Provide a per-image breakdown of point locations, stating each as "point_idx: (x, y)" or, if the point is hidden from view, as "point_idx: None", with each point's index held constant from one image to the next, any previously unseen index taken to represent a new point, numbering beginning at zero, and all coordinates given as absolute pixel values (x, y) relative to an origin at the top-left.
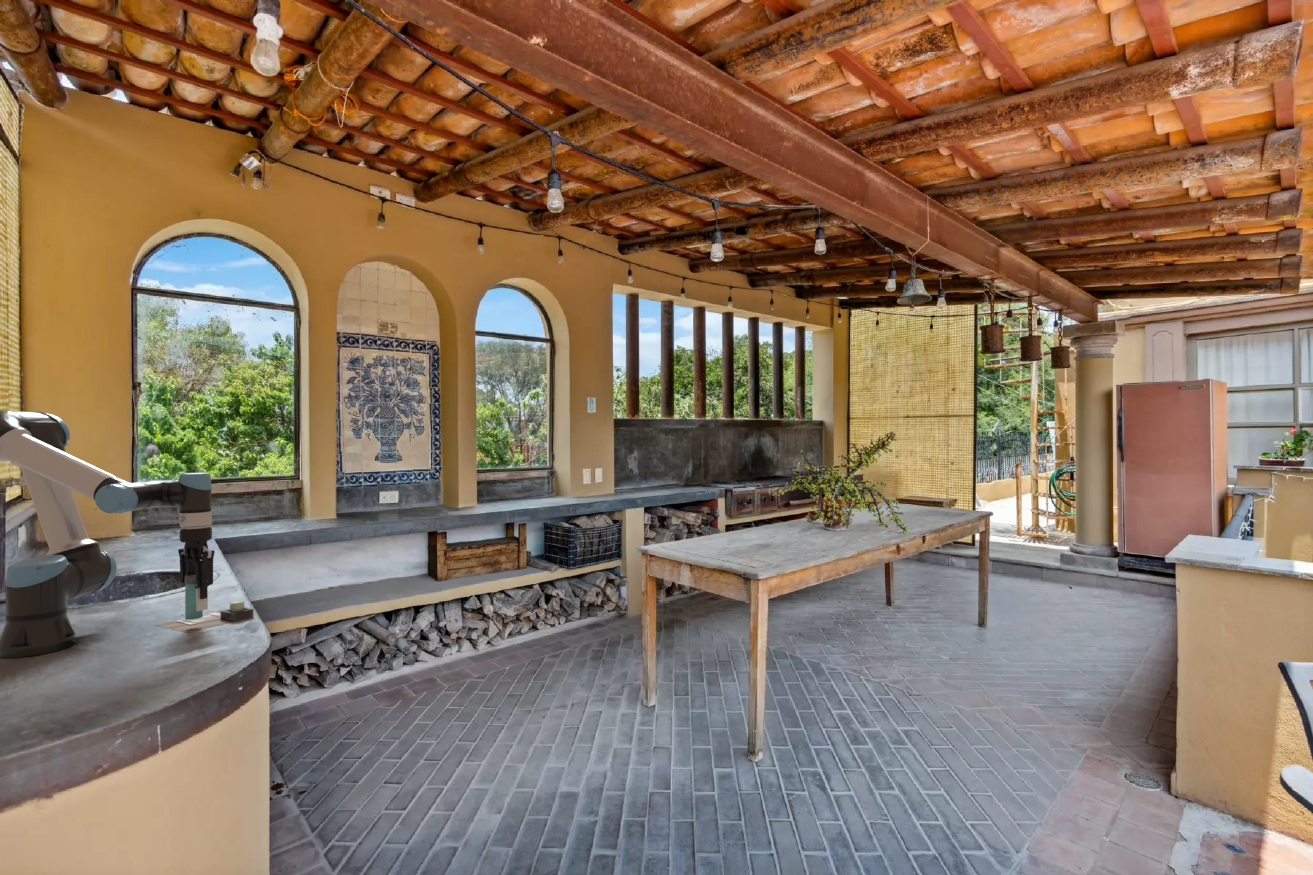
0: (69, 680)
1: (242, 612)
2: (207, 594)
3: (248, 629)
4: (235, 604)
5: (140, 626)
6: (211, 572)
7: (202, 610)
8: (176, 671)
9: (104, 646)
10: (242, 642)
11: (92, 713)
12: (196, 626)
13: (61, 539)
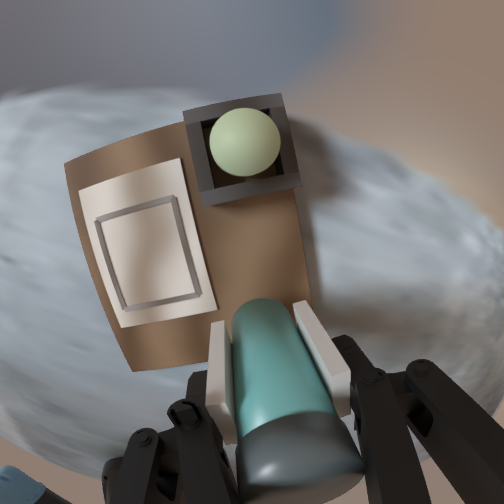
0: None
1: (291, 142)
2: (329, 338)
3: (366, 166)
4: (274, 159)
5: (69, 368)
6: (478, 416)
7: (280, 312)
8: (477, 356)
9: (223, 446)
10: (457, 236)
11: (484, 407)
12: (251, 299)
13: None
